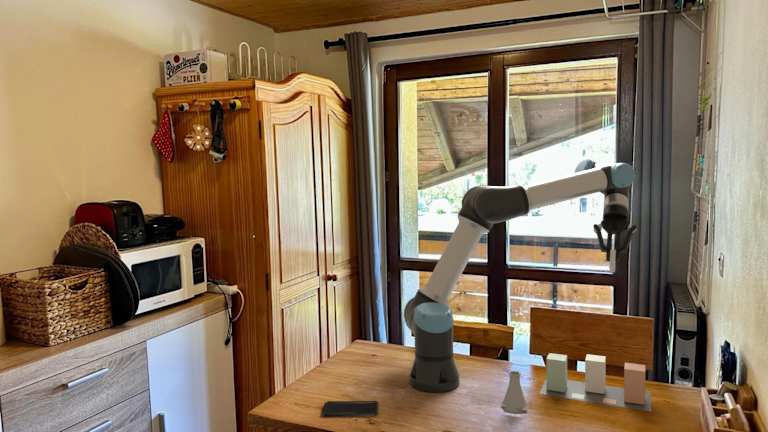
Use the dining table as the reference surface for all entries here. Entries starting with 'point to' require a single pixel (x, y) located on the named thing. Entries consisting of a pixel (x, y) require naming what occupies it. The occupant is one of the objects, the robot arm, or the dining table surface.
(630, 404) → the grey board
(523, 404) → the flask
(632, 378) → the pink tall block
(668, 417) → the dining table surface
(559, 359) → the pale green tall block
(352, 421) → the dining table surface
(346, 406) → the phone
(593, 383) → the cream tall block
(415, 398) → the dining table surface
